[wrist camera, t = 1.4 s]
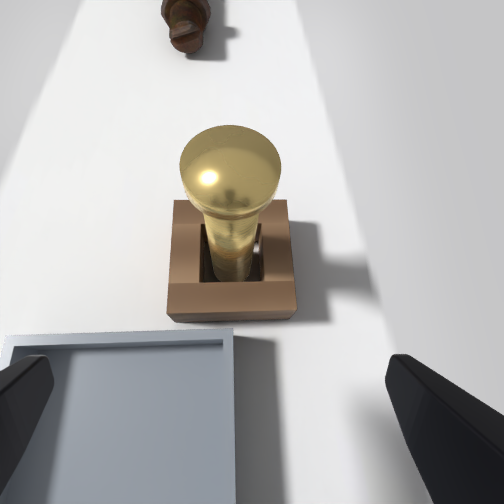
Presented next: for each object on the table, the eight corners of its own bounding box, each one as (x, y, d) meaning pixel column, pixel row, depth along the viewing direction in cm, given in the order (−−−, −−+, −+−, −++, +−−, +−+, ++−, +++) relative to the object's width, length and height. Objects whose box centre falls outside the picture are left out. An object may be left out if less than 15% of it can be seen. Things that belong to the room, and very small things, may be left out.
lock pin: (259, 292, 23) (285, 207, 12) (204, 293, 22) (176, 208, 11) (257, 242, 24) (277, 125, 13) (205, 243, 24) (182, 124, 13)
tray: (237, 640, 16) (238, 695, 13) (-36, 667, 15) (-98, 733, 12) (232, 335, 21) (233, 328, 19) (36, 341, 20) (5, 335, 18)
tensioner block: (289, 319, 22) (297, 310, 19) (175, 322, 21) (166, 313, 19) (280, 219, 25) (286, 199, 22) (180, 220, 25) (173, 199, 22)
